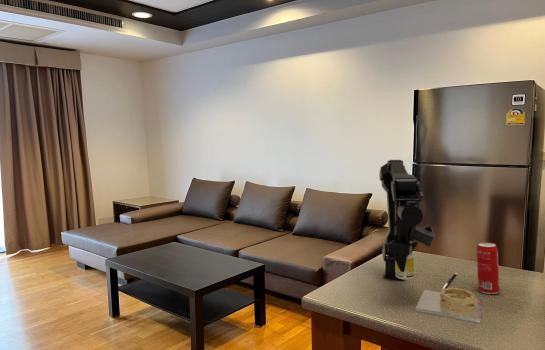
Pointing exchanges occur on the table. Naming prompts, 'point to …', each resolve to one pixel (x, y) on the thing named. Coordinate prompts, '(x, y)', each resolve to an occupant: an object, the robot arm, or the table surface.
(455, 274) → the pen
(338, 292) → the table surface
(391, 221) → the robot arm
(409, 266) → the supplement bottle
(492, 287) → the beverage can
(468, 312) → the plate
